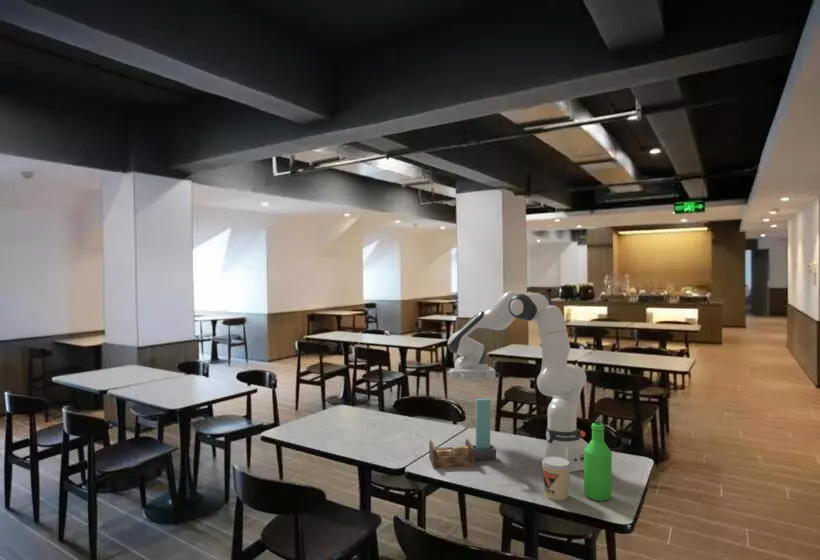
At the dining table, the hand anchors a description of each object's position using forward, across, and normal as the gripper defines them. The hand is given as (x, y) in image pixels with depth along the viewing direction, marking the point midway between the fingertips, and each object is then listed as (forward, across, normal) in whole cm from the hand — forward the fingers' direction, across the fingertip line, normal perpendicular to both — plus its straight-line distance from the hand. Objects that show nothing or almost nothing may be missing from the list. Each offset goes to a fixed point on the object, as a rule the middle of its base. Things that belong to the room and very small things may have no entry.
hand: (475, 377), depth 211 cm
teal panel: (+12, 0, +30) cm, 33 cm away
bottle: (+46, +32, +32) cm, 64 cm away
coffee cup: (+44, +18, +32) cm, 57 cm away
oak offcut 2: (+17, -10, +30) cm, 36 cm away
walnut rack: (+15, -14, +32) cm, 38 cm away
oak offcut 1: (+17, -17, +30) cm, 39 cm away
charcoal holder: (+12, 0, +32) cm, 34 cm away
